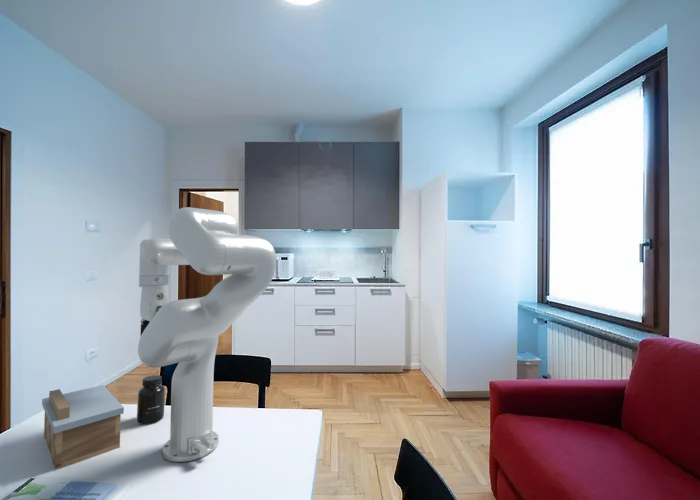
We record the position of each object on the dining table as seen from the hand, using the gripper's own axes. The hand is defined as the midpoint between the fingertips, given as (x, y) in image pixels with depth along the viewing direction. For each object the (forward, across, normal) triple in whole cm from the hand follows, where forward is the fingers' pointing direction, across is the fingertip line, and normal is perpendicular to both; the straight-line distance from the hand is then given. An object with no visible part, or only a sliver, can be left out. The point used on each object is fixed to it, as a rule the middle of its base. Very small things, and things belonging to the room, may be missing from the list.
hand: (152, 339), depth 97 cm
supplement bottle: (+23, -1, 0) cm, 23 cm away
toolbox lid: (+15, -1, +16) cm, 22 cm away
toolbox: (+23, -1, +16) cm, 28 cm away
